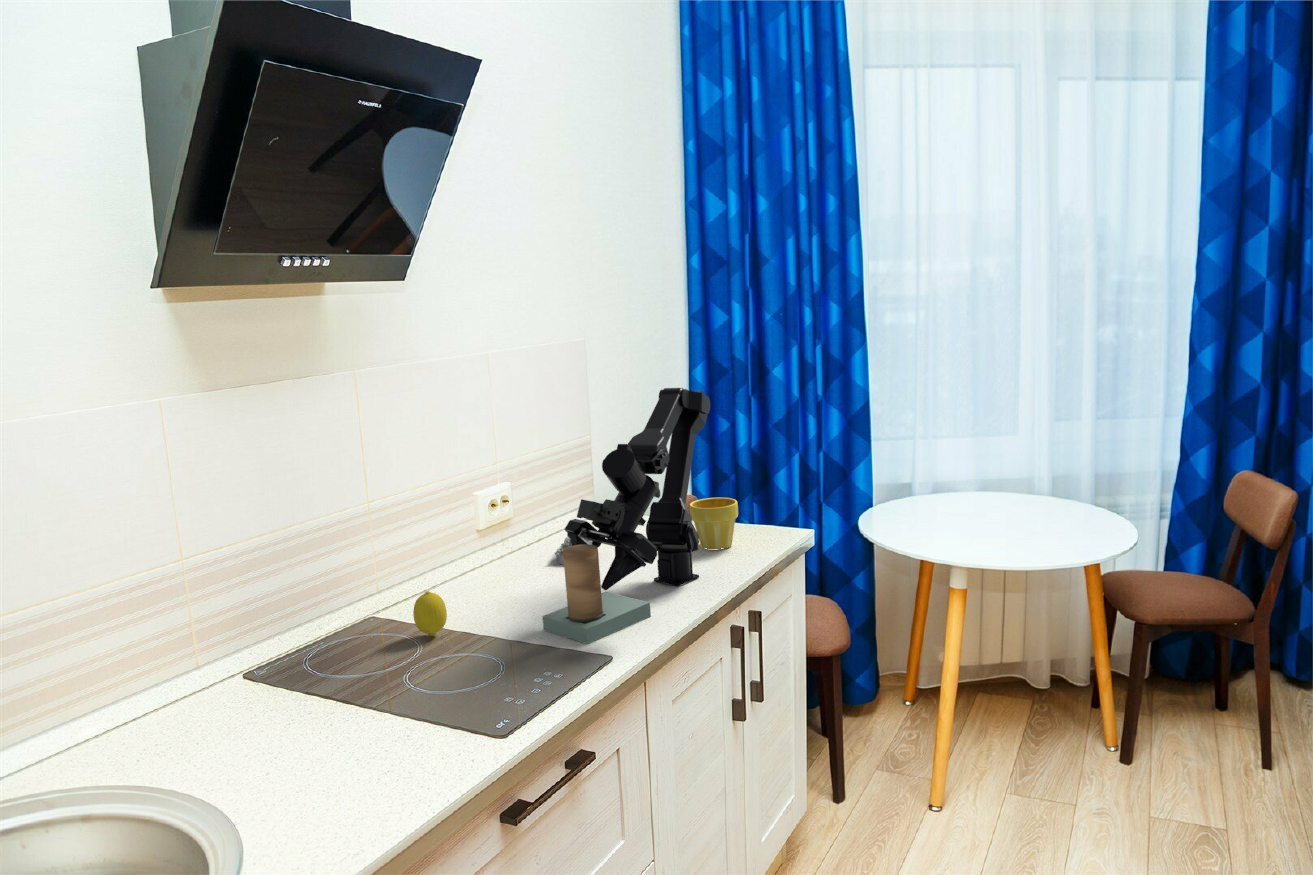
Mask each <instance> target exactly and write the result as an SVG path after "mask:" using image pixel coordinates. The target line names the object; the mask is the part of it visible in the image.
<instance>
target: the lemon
mask: <svg viewBox="0 0 1313 875" xmlns="http://www.w3.org/2000/svg"><path fill="white" fill-rule="evenodd" d="M412 612H413V614H412V615H413V621H414V624H415V626H416V627H417V629H418V630H419V631H420V632H422V634H427V635H429V636H430V637H434V636H436V634H437V633H438V632H440V631H441V630H442V629H443V628H444V626H445V625H446V623H447V620H448V619H447V617H448V614H447V606H446V603H445V601H444V599H443V598H442V597H441V596H440V595H439V594H437V593H434V592H431V591H429V590H428V591H425V592H424V593H423V594H421V595H420V596H419V597H418V598H417V599H416V600H415V603H414V605H413V611H412Z"/></svg>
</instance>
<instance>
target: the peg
mask: <svg viewBox="0 0 1313 875" xmlns="http://www.w3.org/2000/svg"><path fill="white" fill-rule="evenodd" d="M563 558H564V564H563V566H564V567H563V568H564V579H565V589H566V590H565V592H566V603H567V607H568V619H569V620H570V621H572V622H577V623H583V624H586V623H589V622H593V621H596V620H599V619H601V618H602V617H603V608H602V595H601V593H602V587H601V586H602V583H601V573H600V572H601V571H600V560H599V547H597V546H595V545H589V544H582V545H574V546H570V547H567V548H565V549H564V550H563Z"/></svg>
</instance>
